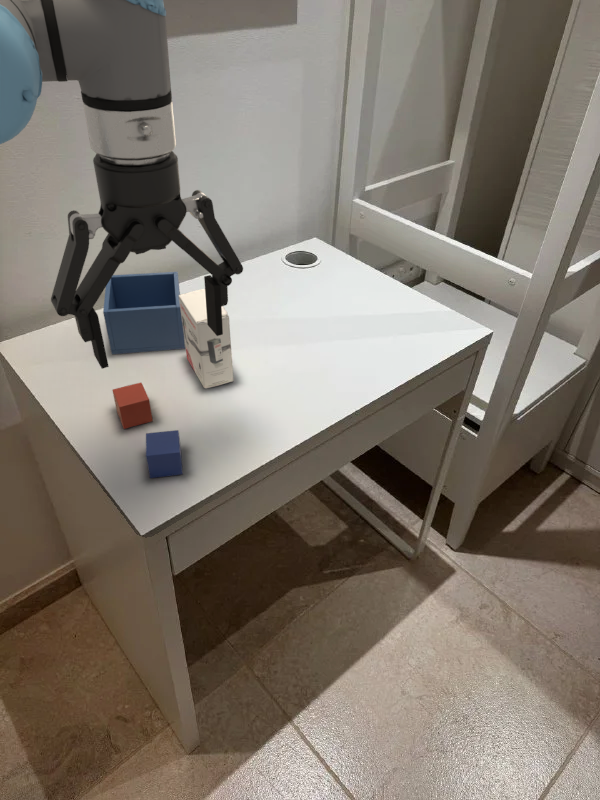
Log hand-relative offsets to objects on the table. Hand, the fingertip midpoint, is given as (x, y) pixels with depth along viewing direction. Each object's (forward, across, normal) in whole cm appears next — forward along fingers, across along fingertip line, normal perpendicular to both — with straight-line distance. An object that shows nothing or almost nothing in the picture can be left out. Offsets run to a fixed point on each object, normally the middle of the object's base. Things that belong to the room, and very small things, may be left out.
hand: (160, 345), depth 66 cm
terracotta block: (+16, -3, +8) cm, 18 cm away
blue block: (+16, -2, -3) cm, 16 cm away
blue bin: (+16, +6, +27) cm, 32 cm away
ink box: (+16, +11, +12) cm, 23 cm away
